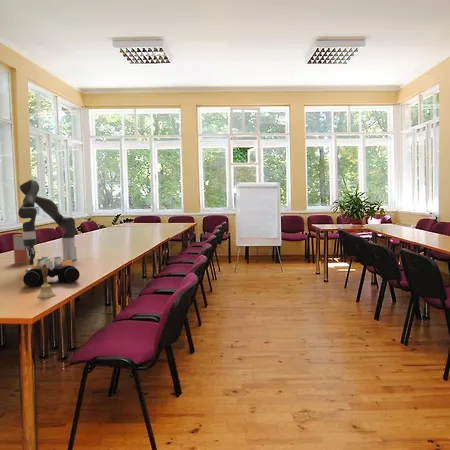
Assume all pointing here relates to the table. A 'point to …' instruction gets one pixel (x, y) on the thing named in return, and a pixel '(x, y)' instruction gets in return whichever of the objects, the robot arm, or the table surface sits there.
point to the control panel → (20, 250)
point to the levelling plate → (48, 263)
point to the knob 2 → (61, 262)
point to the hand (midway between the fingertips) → (31, 264)
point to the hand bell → (45, 285)
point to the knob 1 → (38, 264)
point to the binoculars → (51, 275)
